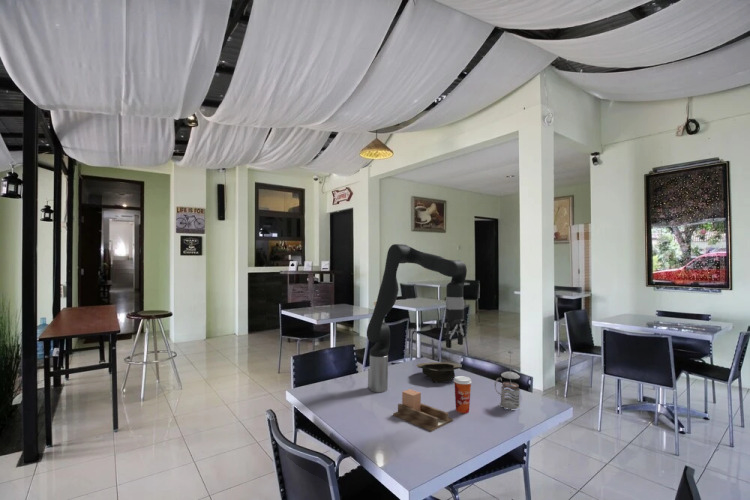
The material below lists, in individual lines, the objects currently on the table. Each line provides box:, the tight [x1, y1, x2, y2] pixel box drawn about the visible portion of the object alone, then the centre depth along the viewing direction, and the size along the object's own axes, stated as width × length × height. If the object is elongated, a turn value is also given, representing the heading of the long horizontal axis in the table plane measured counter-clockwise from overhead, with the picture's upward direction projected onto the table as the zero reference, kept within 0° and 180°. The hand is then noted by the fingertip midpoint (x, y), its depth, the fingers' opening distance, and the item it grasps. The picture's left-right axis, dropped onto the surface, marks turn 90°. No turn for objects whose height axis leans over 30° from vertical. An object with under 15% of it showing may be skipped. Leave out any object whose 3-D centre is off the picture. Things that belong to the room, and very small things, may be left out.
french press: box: [494, 349, 521, 409], centre depth 169 cm, size 10×12×25 cm
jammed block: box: [401, 388, 422, 411], centre depth 159 cm, size 6×5×8 cm
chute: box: [392, 403, 454, 432], centre depth 155 cm, size 20×14×4 cm
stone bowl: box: [416, 361, 463, 384], centre depth 209 cm, size 25×25×9 cm
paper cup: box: [453, 375, 472, 414], centre depth 163 cm, size 8×8×14 cm
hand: (454, 346), depth 158 cm, fingers open, 8 cm apart
